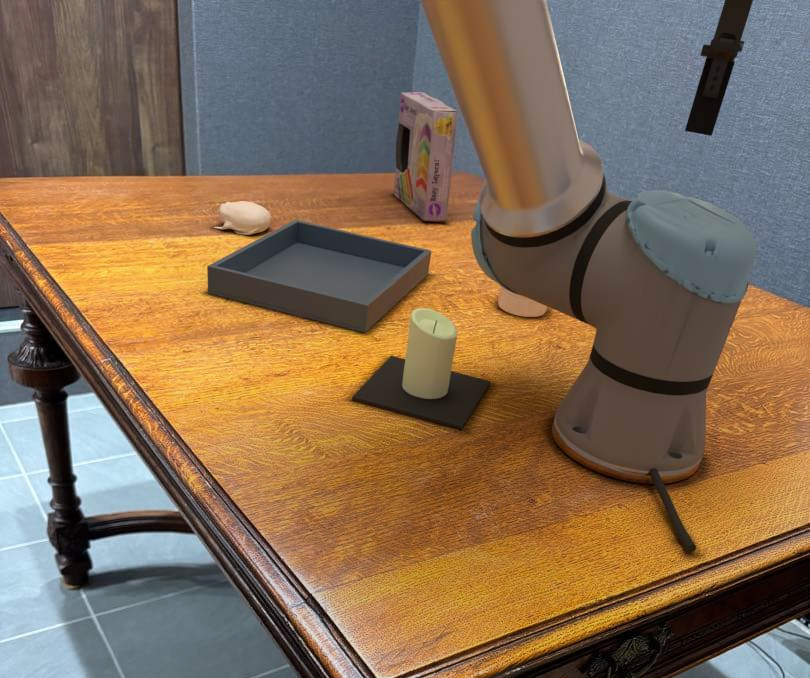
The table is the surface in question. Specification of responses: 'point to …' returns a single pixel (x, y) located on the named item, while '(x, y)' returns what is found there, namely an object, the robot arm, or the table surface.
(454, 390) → the mat
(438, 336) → the candle
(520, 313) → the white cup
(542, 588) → the table surface
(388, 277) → the bin
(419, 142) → the cake pan box
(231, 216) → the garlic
